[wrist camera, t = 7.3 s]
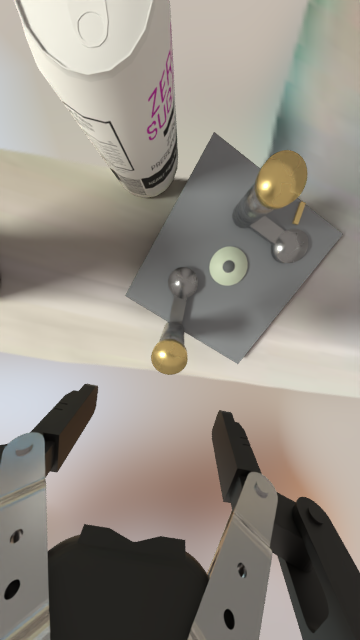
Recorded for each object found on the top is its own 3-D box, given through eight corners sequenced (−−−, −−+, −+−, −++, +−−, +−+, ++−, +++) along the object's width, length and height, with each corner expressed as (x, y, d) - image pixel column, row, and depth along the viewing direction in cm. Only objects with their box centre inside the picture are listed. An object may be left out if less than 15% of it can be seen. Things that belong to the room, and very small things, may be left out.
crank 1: (171, 264, 24) (164, 261, 15) (200, 270, 24) (209, 270, 15) (159, 337, 27) (147, 370, 18) (184, 342, 27) (185, 377, 18)
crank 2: (308, 242, 23) (387, 224, 14) (287, 269, 24) (349, 268, 15) (241, 191, 22) (282, 135, 13) (222, 222, 23) (247, 190, 14)
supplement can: (107, 129, 22) (-41, -145, 7) (173, 117, 21) (152, -199, 7) (121, 203, 24) (27, 102, 10) (182, 194, 24) (179, 72, 9)
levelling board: (129, 294, 27) (123, 296, 25) (211, 144, 22) (215, 128, 20) (234, 357, 30) (238, 365, 27) (330, 237, 25) (346, 233, 22)
